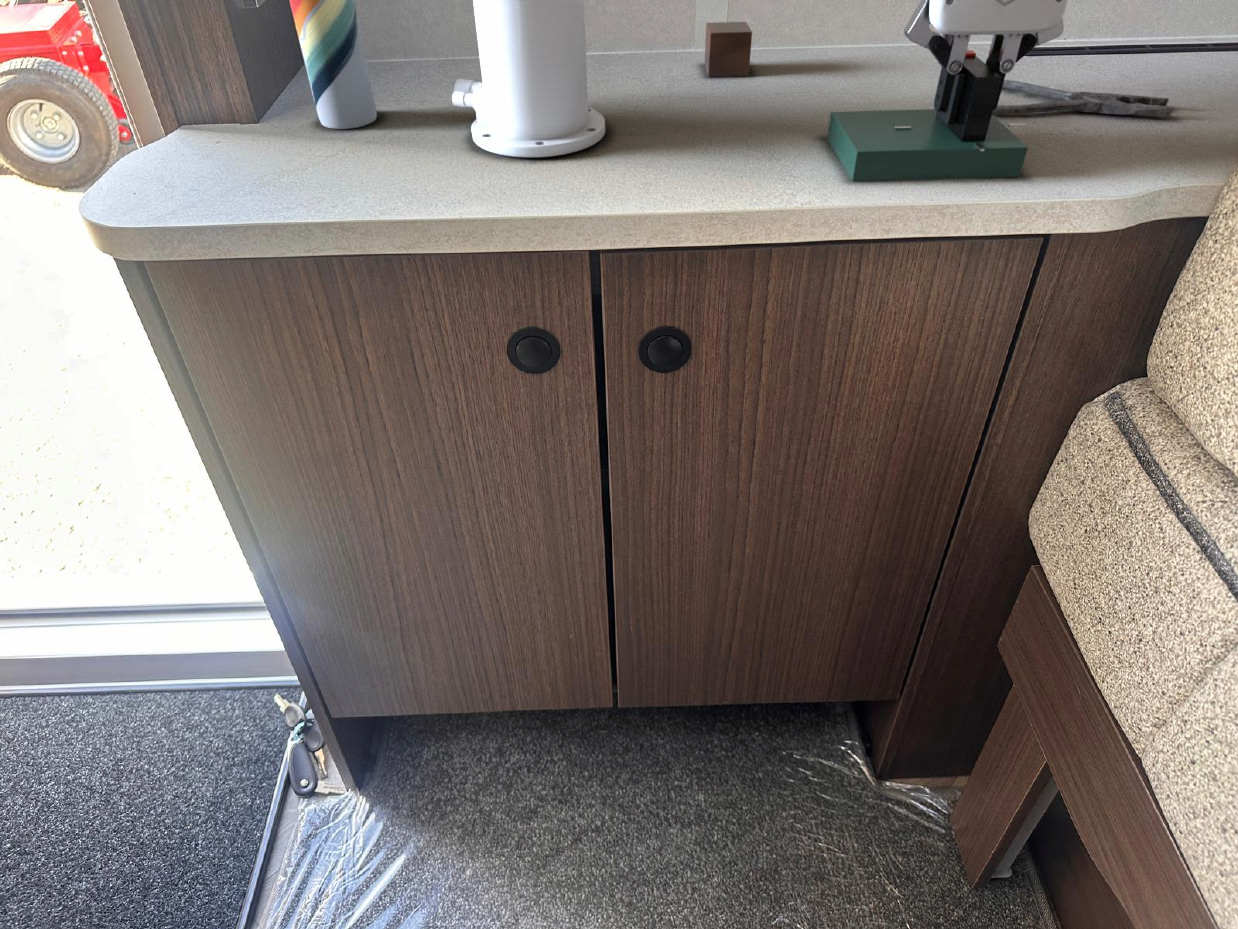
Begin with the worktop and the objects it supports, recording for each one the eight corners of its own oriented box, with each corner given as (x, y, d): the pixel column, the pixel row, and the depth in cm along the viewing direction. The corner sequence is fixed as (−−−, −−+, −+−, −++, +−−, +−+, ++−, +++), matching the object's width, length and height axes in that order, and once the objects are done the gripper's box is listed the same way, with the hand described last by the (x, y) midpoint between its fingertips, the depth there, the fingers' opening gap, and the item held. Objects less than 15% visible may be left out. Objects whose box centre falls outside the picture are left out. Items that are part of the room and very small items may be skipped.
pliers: (943, 75, 88) (1143, 77, 86) (941, 84, 89) (1140, 86, 86) (960, 105, 81) (1180, 108, 79) (958, 114, 81) (1176, 117, 79)
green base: (853, 184, 69) (859, 152, 67) (825, 137, 78) (829, 107, 76) (1041, 179, 69) (1051, 147, 67) (993, 132, 78) (1001, 102, 76)
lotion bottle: (316, 116, 85) (256, -124, 72) (372, 107, 86) (324, -128, 74) (324, 133, 81) (263, -117, 68) (383, 124, 82) (334, -122, 70)
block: (708, 77, 92) (710, 32, 89) (704, 65, 96) (706, 22, 93) (748, 76, 92) (752, 31, 89) (743, 64, 96) (746, 21, 93)
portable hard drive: (985, 140, 69) (1002, 73, 66) (960, 141, 69) (977, 74, 66) (958, 113, 74) (973, 49, 71) (935, 113, 74) (949, 50, 71)
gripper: (928, -140, 56) (878, 136, 68) (1165, -146, 56) (1073, 132, 68) (899, -150, 62) (858, 107, 74) (1114, -155, 62) (1038, 103, 74)
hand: (962, 117), depth 71 cm, fingers closed on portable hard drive, 2 cm apart
